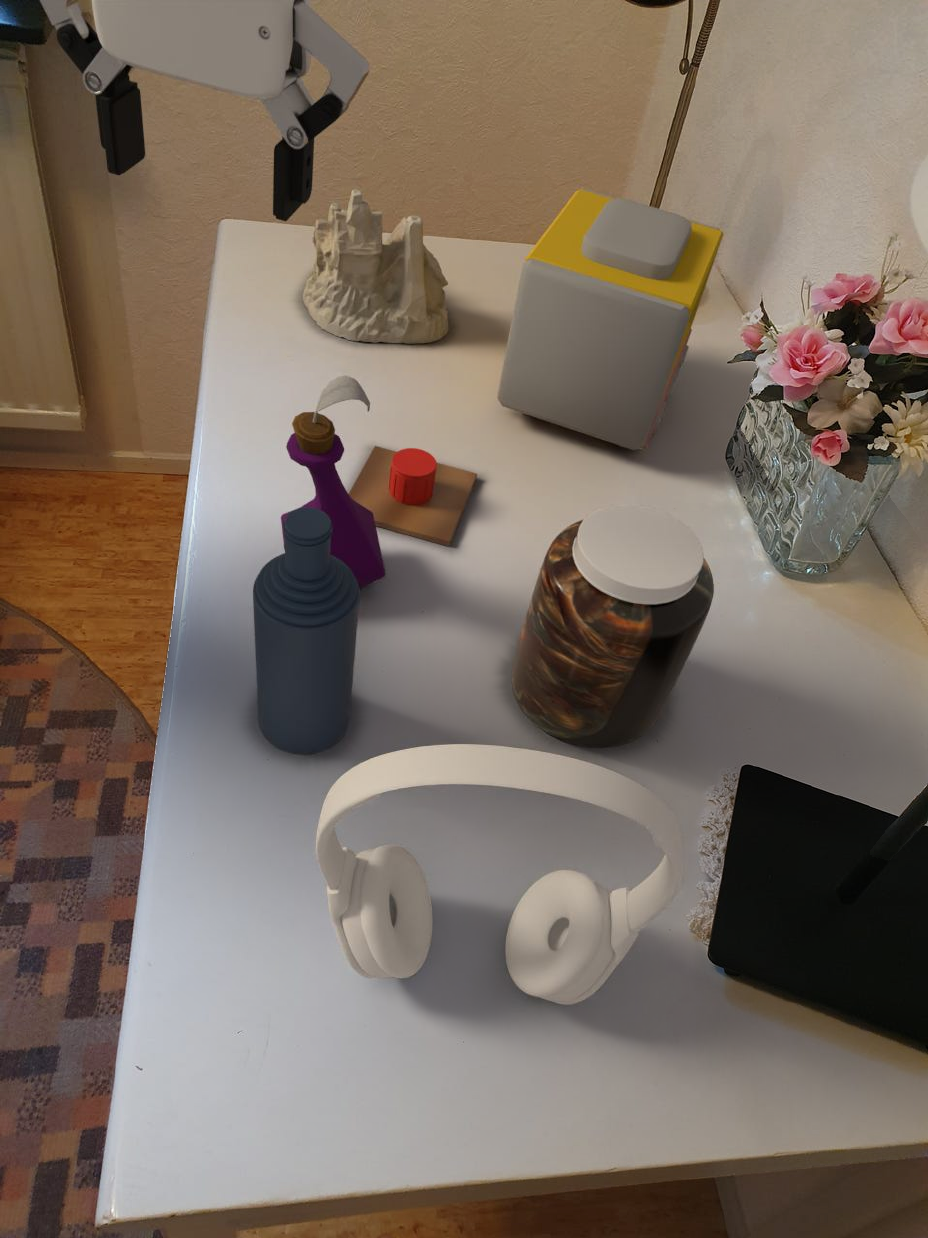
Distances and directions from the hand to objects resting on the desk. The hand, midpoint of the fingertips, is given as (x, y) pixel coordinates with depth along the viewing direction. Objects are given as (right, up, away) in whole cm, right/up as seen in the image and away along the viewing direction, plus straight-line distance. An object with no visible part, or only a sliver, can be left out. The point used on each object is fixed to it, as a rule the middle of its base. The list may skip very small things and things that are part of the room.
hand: (207, 188), depth 52 cm
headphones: (+15, -44, +4) cm, 47 cm away
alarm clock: (+28, -1, +46) cm, 54 cm away
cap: (+10, -13, +30) cm, 35 cm away
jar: (+24, -30, +19) cm, 43 cm away
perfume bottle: (+4, -21, +23) cm, 31 cm away
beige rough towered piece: (+5, +11, +52) cm, 54 cm away
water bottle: (+3, -31, +13) cm, 34 cm away
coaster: (+10, -13, +31) cm, 35 cm away
